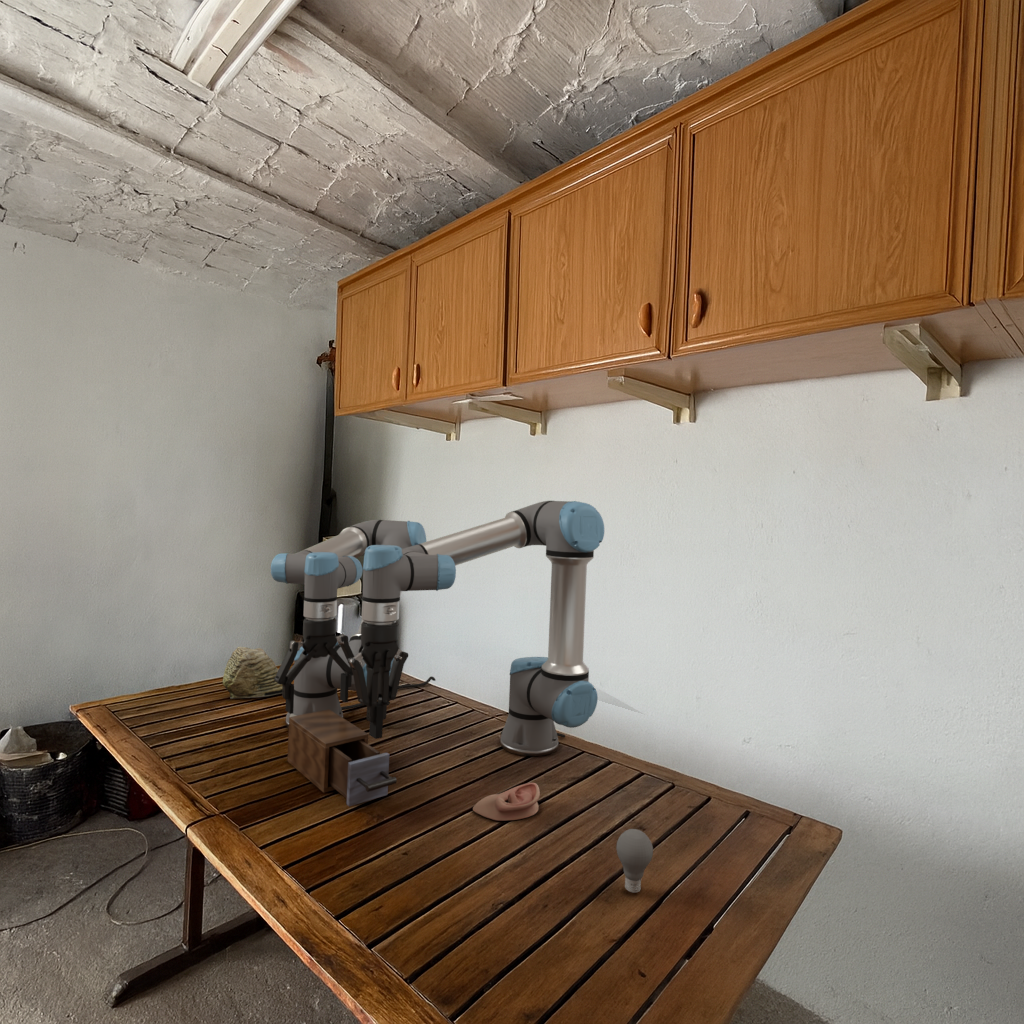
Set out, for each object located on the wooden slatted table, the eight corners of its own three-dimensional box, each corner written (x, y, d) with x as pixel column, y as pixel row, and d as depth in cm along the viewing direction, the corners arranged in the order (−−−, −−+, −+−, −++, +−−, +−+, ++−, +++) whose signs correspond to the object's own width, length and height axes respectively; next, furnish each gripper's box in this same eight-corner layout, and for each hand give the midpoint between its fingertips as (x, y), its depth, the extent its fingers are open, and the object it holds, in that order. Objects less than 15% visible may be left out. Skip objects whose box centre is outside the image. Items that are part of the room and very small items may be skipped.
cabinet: (366, 780, 142) (368, 733, 142) (323, 792, 136) (325, 743, 135) (327, 751, 157) (329, 709, 157) (287, 761, 150) (289, 717, 150)
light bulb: (610, 879, 108) (613, 822, 108) (644, 879, 109) (647, 822, 109) (619, 902, 102) (622, 840, 102) (655, 901, 103) (658, 840, 103)
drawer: (401, 804, 130) (403, 762, 130) (361, 817, 124) (363, 773, 124) (347, 764, 148) (348, 727, 148) (310, 774, 142) (311, 735, 142)
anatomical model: (469, 797, 128) (483, 773, 139) (468, 816, 128) (482, 791, 139) (534, 806, 125) (543, 781, 136) (533, 826, 125) (542, 799, 136)
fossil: (218, 695, 195) (220, 647, 195) (278, 685, 208) (279, 640, 207) (228, 703, 189) (230, 653, 188) (289, 692, 201) (290, 645, 201)
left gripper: (273, 626, 139) (270, 721, 140) (374, 615, 156) (372, 700, 156) (261, 620, 145) (258, 712, 146) (360, 610, 161) (357, 692, 162)
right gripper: (359, 627, 122) (355, 749, 122) (417, 621, 130) (412, 735, 131) (342, 621, 127) (337, 737, 128) (398, 615, 136) (394, 724, 136)
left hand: (317, 706), depth 151 cm, fingers open, 13 cm apart
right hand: (375, 736), depth 129 cm, fingers closed
